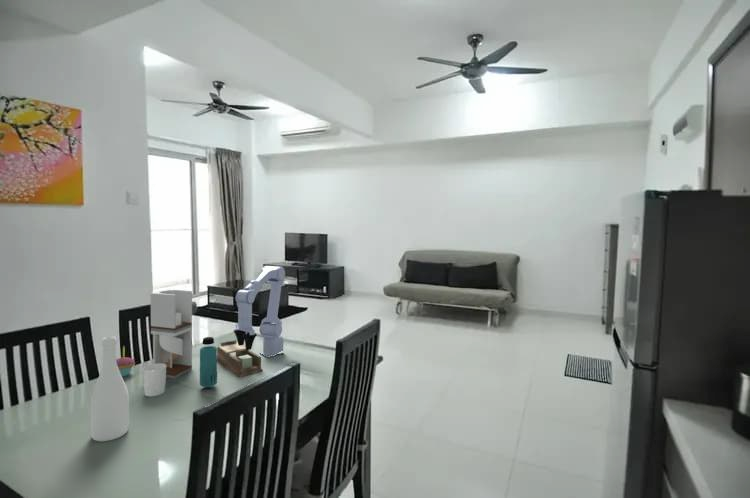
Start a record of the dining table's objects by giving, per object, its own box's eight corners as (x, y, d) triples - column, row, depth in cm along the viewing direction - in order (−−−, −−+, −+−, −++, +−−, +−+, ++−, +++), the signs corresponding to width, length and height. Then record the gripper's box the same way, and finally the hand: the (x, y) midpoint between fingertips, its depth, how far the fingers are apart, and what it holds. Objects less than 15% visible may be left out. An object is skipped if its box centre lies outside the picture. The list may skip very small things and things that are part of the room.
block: (247, 365, 176) (247, 354, 176) (252, 368, 173) (252, 357, 173) (237, 367, 173) (237, 356, 173) (242, 370, 170) (242, 359, 170)
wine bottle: (122, 422, 126) (121, 331, 124) (133, 433, 120) (132, 337, 118) (87, 434, 118) (85, 337, 116) (97, 446, 112) (95, 344, 110)
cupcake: (113, 372, 166) (112, 344, 165) (136, 369, 170) (136, 342, 169) (109, 379, 158) (108, 350, 158) (133, 377, 162) (133, 348, 161)
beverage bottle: (210, 391, 150) (211, 340, 149) (195, 389, 151) (195, 339, 150) (220, 385, 157) (221, 336, 155) (206, 383, 158) (206, 334, 157)
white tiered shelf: (151, 375, 164) (150, 293, 162) (170, 366, 174) (169, 289, 172) (174, 378, 161) (174, 295, 159) (191, 369, 172) (192, 290, 169)
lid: (238, 343, 189) (238, 339, 189) (248, 349, 181) (248, 344, 181) (217, 347, 182) (217, 343, 182) (227, 353, 174) (227, 348, 174)
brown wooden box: (238, 356, 190) (238, 343, 190) (262, 370, 173) (262, 356, 172) (215, 361, 183) (215, 347, 182) (238, 377, 165) (238, 362, 165)
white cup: (170, 389, 152) (170, 364, 151) (157, 398, 144) (157, 371, 143) (151, 387, 152) (151, 362, 152) (137, 396, 144) (137, 370, 144)
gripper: (229, 315, 174) (229, 345, 175) (243, 321, 164) (243, 353, 165) (244, 313, 179) (244, 342, 180) (259, 319, 169) (259, 350, 169)
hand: (244, 347), depth 173 cm, fingers open, 7 cm apart
